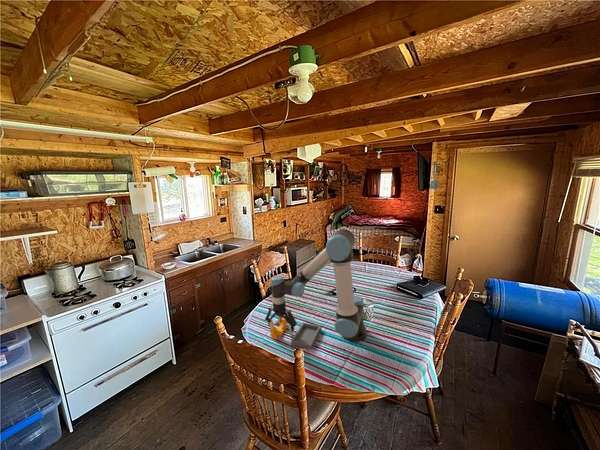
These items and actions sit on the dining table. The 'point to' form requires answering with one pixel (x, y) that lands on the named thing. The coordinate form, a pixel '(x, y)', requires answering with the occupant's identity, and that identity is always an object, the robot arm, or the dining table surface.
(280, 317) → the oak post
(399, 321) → the dining table surface
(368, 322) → the dining table surface
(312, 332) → the tray
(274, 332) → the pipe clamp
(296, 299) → the dining table surface
